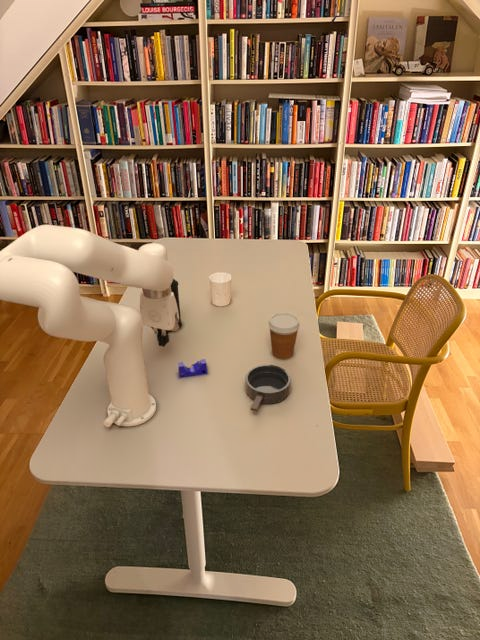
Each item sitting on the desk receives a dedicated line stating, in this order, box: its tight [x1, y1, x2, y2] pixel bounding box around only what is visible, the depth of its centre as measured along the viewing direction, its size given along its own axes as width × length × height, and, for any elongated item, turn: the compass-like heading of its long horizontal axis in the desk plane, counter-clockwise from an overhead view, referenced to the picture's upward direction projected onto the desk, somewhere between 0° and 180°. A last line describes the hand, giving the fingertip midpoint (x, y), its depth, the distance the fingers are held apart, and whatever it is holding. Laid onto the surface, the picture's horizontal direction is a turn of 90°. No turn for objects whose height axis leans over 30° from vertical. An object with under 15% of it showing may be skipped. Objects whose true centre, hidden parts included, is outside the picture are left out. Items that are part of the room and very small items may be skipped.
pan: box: [245, 364, 292, 405], centre depth 132 cm, size 12×12×4 cm
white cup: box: [208, 272, 232, 307], centre depth 173 cm, size 8×8×10 cm
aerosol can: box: [169, 278, 183, 333], centre depth 156 cm, size 8×8×20 cm
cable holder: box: [177, 358, 208, 379], centre depth 139 cm, size 8×4×4 cm, turn 102°
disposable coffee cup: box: [267, 312, 301, 360], centre depth 145 cm, size 10×10×12 cm
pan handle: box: [250, 394, 264, 412], centre depth 125 cm, size 6×2×1 cm, turn 159°
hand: (163, 343), depth 140 cm, fingers closed
